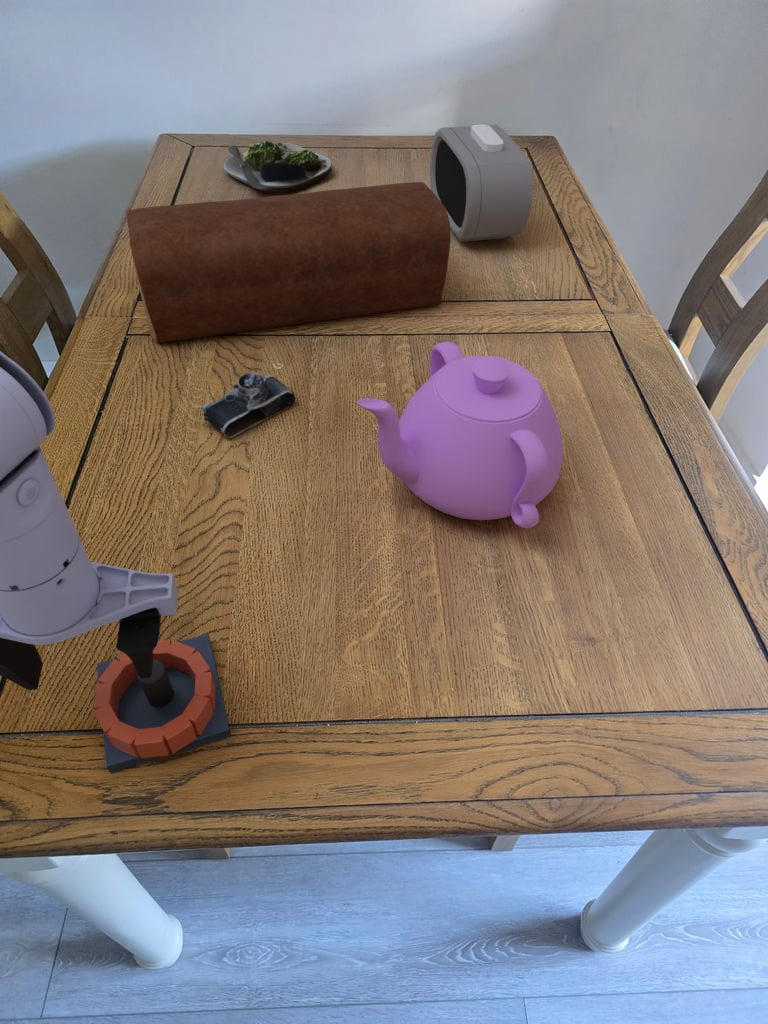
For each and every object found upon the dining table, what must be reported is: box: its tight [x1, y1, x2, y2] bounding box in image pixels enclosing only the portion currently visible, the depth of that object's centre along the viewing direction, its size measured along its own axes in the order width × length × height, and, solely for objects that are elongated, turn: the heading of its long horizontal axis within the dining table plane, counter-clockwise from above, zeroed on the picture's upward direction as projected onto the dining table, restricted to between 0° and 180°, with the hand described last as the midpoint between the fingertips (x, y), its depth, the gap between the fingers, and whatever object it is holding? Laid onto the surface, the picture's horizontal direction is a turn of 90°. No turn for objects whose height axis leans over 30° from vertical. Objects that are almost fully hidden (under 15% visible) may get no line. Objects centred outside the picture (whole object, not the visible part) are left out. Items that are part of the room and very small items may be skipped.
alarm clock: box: [429, 124, 534, 243], centre depth 109 cm, size 21×10×13 cm, turn 13°
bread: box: [125, 181, 452, 344], centre depth 92 cm, size 16×39×13 cm, turn 107°
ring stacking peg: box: [96, 633, 232, 774], centre depth 54 cm, size 9×9×5 cm
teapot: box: [356, 341, 563, 529], centre depth 69 cm, size 22×22×14 cm
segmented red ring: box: [92, 639, 216, 758], centre depth 54 cm, size 8×8×2 cm
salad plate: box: [223, 140, 333, 196], centre depth 123 cm, size 19×18×5 cm
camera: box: [201, 372, 297, 439], centre depth 79 cm, size 5×10×4 cm, turn 133°
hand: (91, 671), depth 50 cm, fingers open, 7 cm apart
